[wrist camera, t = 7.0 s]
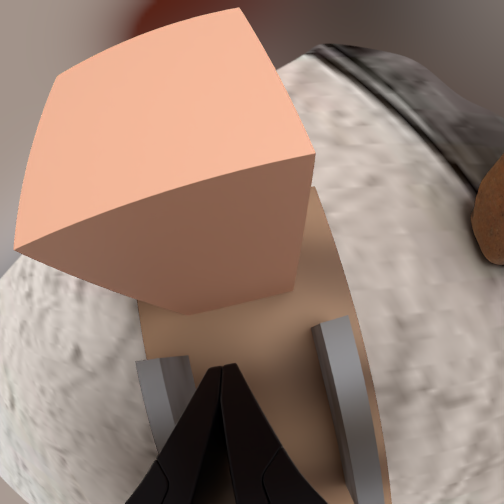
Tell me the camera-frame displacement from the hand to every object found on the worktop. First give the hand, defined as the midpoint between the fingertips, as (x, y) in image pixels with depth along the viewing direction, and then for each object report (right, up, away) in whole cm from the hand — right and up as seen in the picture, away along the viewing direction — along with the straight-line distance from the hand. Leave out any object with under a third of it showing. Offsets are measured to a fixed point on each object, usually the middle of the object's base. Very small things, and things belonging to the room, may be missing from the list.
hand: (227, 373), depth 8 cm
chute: (+1, -4, +7) cm, 9 cm away
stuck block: (-1, +4, +9) cm, 9 cm away
